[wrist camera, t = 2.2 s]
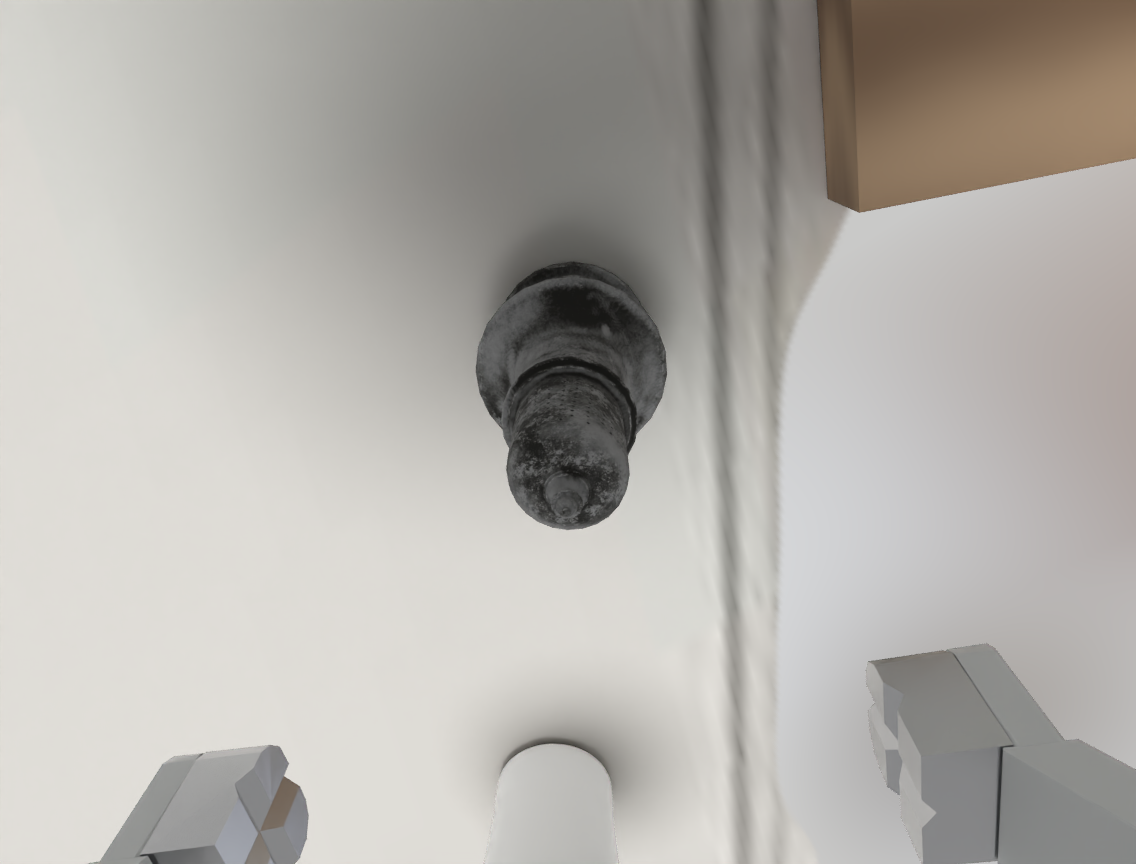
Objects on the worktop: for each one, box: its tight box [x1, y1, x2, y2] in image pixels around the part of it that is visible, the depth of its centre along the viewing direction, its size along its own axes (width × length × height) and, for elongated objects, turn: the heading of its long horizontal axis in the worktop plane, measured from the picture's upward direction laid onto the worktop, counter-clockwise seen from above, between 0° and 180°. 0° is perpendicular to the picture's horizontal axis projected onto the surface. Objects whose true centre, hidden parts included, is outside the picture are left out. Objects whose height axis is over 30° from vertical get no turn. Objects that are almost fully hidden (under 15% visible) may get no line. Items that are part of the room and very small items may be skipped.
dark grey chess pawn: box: [476, 262, 667, 530], centre depth 21 cm, size 6×6×12 cm
